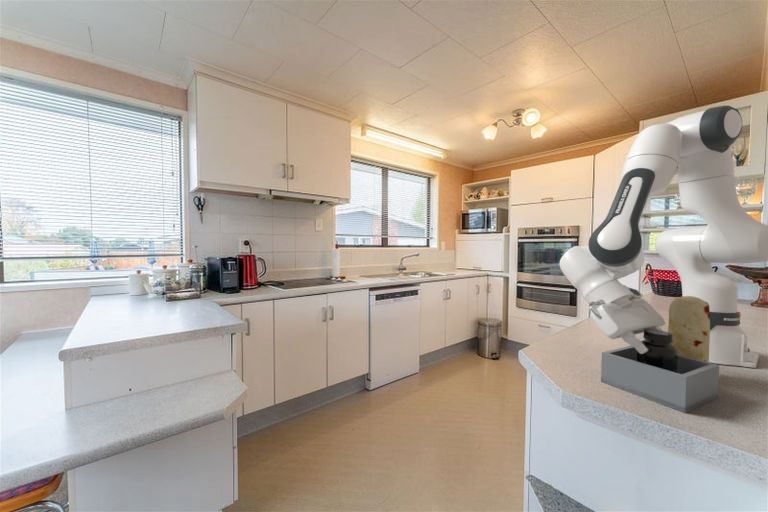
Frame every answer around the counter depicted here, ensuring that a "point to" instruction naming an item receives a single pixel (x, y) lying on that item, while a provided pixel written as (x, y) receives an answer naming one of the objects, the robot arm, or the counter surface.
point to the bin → (662, 379)
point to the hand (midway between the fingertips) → (657, 349)
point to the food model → (690, 327)
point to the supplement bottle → (659, 350)
